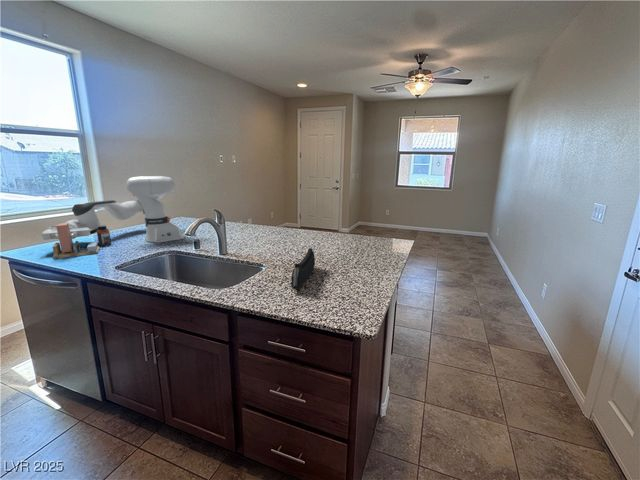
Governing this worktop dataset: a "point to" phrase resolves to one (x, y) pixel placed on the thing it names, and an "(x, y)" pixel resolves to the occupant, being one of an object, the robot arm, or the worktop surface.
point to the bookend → (77, 248)
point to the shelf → (60, 254)
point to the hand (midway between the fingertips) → (64, 236)
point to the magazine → (303, 270)
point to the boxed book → (65, 237)
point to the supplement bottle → (103, 235)
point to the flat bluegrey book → (92, 247)
